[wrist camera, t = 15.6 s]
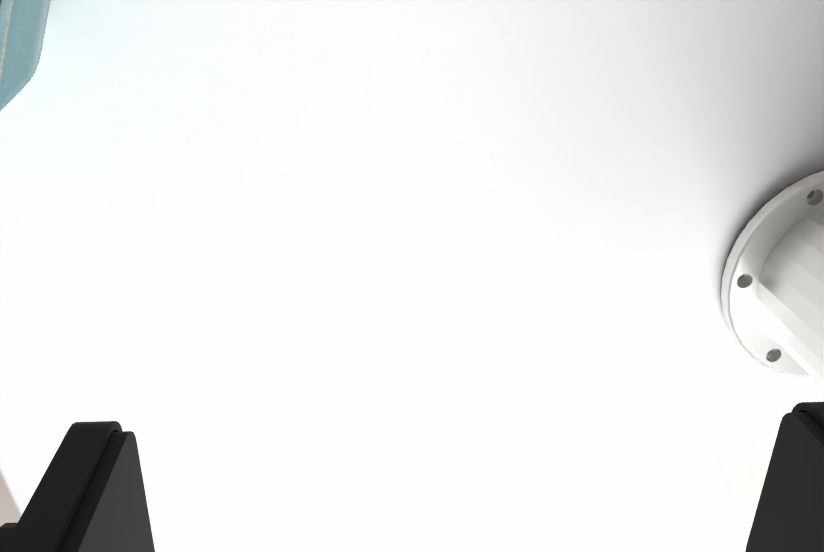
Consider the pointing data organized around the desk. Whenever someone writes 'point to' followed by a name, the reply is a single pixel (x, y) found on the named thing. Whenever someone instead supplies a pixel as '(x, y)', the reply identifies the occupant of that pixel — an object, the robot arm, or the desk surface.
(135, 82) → the desk surface
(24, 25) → the flower pot
